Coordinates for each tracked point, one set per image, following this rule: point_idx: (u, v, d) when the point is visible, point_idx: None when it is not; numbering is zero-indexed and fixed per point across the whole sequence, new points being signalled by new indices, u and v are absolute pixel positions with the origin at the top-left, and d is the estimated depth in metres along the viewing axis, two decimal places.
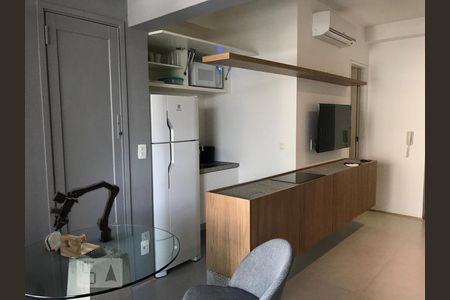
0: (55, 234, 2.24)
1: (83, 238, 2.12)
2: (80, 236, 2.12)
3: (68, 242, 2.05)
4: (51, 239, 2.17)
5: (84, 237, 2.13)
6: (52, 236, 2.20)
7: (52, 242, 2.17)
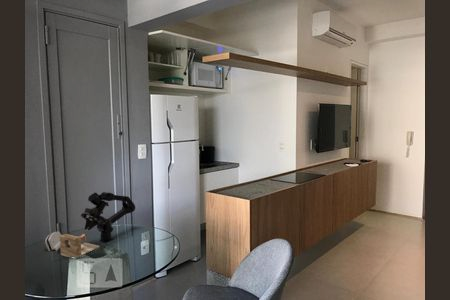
0: (55, 234, 2.24)
1: (83, 238, 2.12)
2: (80, 236, 2.12)
3: (68, 242, 2.05)
4: (51, 239, 2.17)
5: (84, 237, 2.13)
6: (52, 236, 2.20)
7: (52, 242, 2.17)
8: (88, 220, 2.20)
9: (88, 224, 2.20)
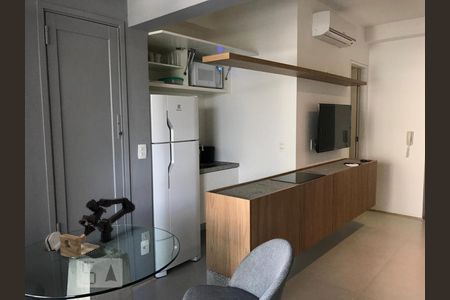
0: (55, 234, 2.24)
1: (83, 238, 2.12)
2: (80, 236, 2.12)
3: (68, 242, 2.05)
4: (51, 239, 2.17)
5: (84, 237, 2.13)
6: (52, 236, 2.20)
7: (52, 242, 2.17)
8: (87, 227, 2.18)
9: None
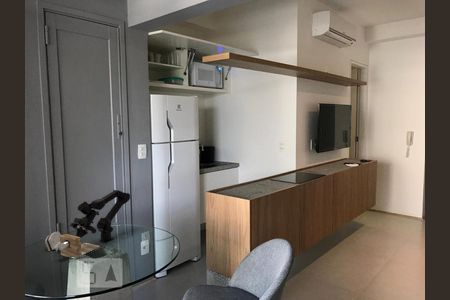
0: (55, 234, 2.24)
1: None
2: None
3: (59, 246, 2.00)
4: (51, 239, 2.17)
5: None
6: (52, 236, 2.20)
7: (52, 242, 2.17)
8: (79, 230, 2.12)
9: None
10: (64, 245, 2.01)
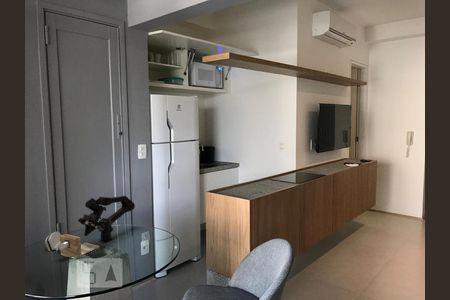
0: (55, 234, 2.24)
1: None
2: None
3: (59, 246, 2.00)
4: (51, 239, 2.17)
5: None
6: (52, 236, 2.20)
7: (52, 242, 2.17)
8: (88, 226, 2.18)
9: None
10: (64, 245, 2.01)
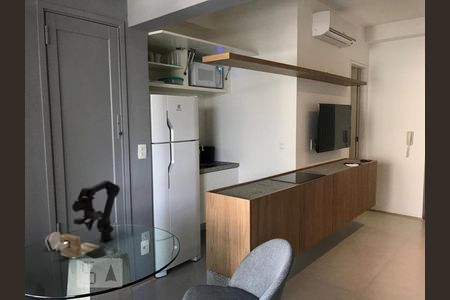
0: (55, 234, 2.24)
1: None
2: None
3: (59, 246, 2.00)
4: (51, 239, 2.17)
5: None
6: (52, 236, 2.20)
7: (52, 242, 2.17)
8: None
9: None
10: (64, 245, 2.01)
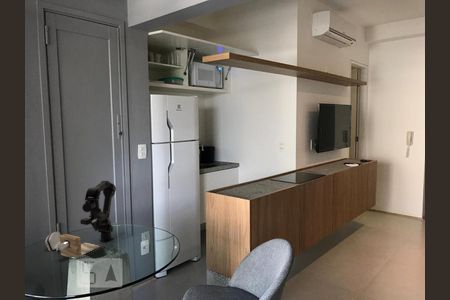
0: (55, 234, 2.24)
1: None
2: None
3: (59, 246, 2.00)
4: (52, 239, 2.17)
5: None
6: (52, 236, 2.20)
7: (53, 242, 2.17)
8: None
9: None
10: (64, 245, 2.01)
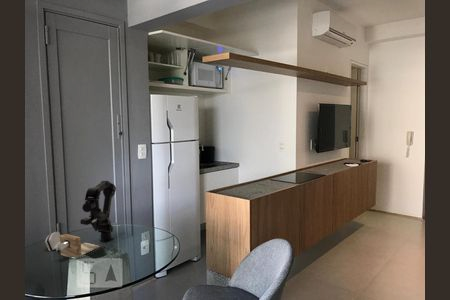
0: (55, 234, 2.24)
1: None
2: None
3: (59, 246, 2.00)
4: (52, 239, 2.17)
5: None
6: (52, 236, 2.20)
7: (53, 242, 2.17)
8: None
9: None
10: (64, 245, 2.01)
